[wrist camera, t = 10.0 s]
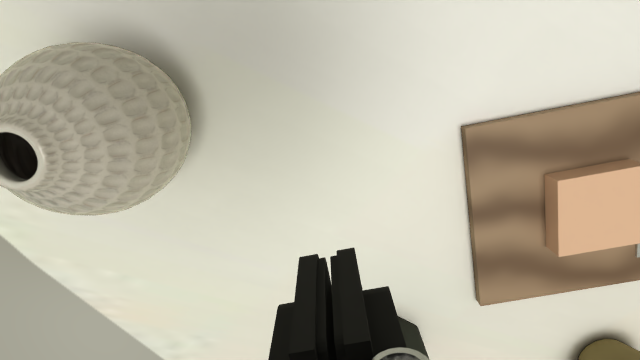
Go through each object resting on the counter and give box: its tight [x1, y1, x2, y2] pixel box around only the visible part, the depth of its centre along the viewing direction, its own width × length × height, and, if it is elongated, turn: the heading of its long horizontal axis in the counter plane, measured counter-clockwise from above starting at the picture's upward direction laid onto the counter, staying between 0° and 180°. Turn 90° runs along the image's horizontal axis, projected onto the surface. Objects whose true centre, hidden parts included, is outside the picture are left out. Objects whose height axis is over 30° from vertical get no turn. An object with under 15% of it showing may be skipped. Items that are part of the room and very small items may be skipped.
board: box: [461, 92, 640, 306], centre depth 39 cm, size 20×21×1 cm
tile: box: [544, 159, 640, 257], centre depth 37 cm, size 8×2×8 cm
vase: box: [0, 42, 191, 215], centre depth 29 cm, size 13×13×17 cm
